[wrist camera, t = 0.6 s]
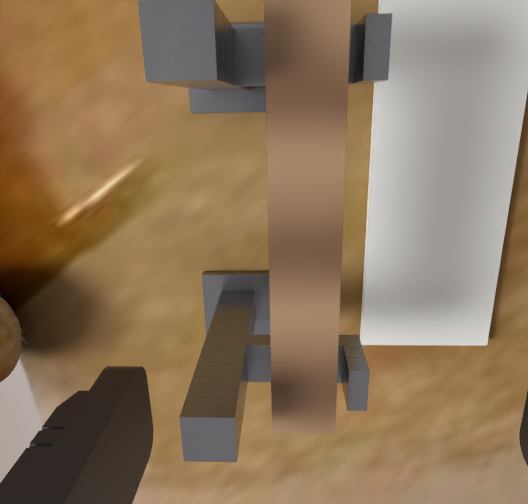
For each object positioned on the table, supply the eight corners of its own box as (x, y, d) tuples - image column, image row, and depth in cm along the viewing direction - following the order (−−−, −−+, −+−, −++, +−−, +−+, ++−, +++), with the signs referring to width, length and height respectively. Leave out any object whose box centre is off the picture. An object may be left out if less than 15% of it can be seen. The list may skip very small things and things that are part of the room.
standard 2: (186, 26, 27) (91, -45, 14) (353, 21, 26) (423, -59, 13) (192, 113, 29) (113, 122, 15) (350, 109, 28) (409, 116, 15)
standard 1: (203, 271, 32) (146, 391, 19) (343, 271, 32) (386, 393, 18) (207, 333, 34) (158, 483, 20) (341, 333, 33) (379, 487, 20)
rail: (267, 6, 19) (264, -11, 16) (341, 4, 19) (351, -14, 16) (273, 393, 26) (272, 433, 23) (329, 394, 26) (335, 433, 23)
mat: (380, -28, 26) (383, -32, 25) (540, -33, 25) (548, -38, 24) (359, 339, 33) (361, 344, 33) (482, 339, 33) (486, 345, 32)
